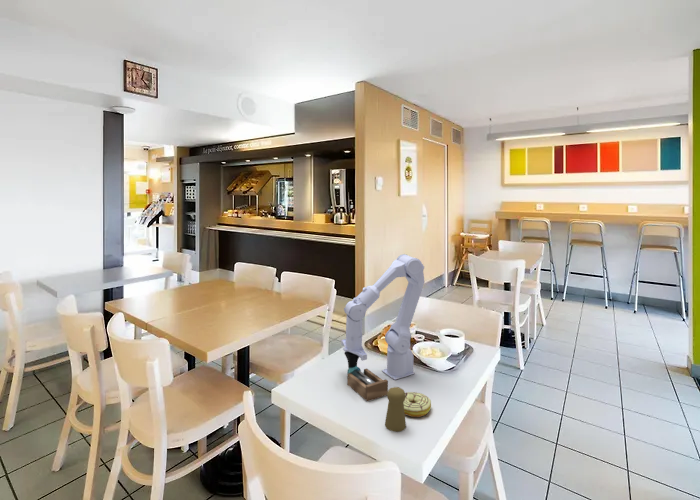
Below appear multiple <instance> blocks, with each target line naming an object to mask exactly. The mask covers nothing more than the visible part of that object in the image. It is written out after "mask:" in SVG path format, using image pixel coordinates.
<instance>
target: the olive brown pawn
mask: <svg viewBox="0 0 700 500" xmlns="http://www.w3.org/2000/svg"><path fill="white" fill-rule="evenodd" d="M405 393H406V391H405V390H404V389H403V388H401V387H398V386H393V387H390V388H389V389H388V392H387V395H386V397H387V400H388V403H387V409H386V415H385V422H384V427H385V428H386V429H387V430H388V431H391V432H393V433H398V432H399V433H400V432H403V431H405V429H406V428H407V423H406V414H405V412H404V403H403V402H404V400H405V397H406V395H405Z"/></svg>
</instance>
